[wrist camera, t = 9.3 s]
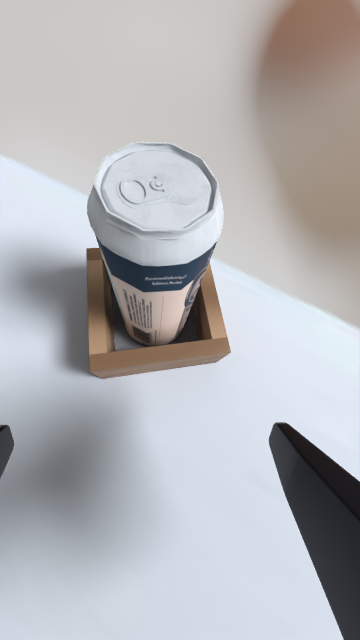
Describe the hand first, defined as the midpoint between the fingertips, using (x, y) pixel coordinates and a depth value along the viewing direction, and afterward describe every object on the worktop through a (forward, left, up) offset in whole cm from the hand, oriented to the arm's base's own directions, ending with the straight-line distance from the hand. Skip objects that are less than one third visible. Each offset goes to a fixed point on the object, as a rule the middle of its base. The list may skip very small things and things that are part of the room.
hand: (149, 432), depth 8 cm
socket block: (+7, -1, -8) cm, 11 cm away
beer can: (+7, -1, -9) cm, 11 cm away
